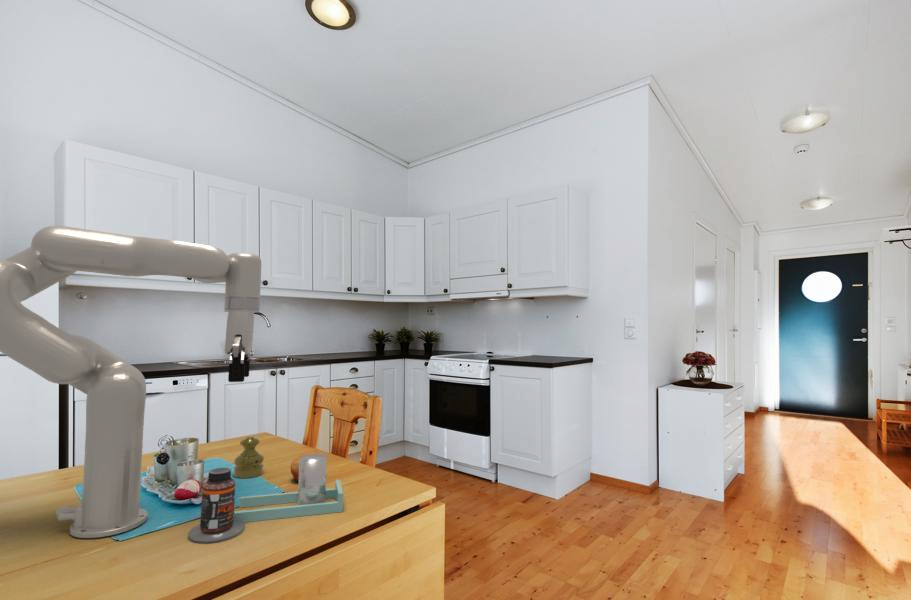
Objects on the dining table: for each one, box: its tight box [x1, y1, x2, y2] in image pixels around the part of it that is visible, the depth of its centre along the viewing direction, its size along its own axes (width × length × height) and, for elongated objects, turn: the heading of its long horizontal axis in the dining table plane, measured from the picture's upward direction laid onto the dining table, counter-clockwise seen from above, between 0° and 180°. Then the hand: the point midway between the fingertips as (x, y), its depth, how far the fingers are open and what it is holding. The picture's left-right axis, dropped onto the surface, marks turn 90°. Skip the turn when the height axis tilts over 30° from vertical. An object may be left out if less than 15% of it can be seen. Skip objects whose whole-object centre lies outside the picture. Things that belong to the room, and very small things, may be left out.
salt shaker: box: [233, 436, 265, 479], centre depth 126 cm, size 7×8×10 cm
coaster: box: [187, 520, 246, 544], centre depth 91 cm, size 10×10×1 cm
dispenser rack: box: [234, 479, 344, 523], centre depth 103 cm, size 22×10×4 cm, turn 108°
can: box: [297, 453, 328, 505], centre depth 105 cm, size 6×6×11 cm
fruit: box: [290, 452, 317, 482], centre depth 123 cm, size 8×8×8 cm
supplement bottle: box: [199, 467, 236, 533], centre depth 92 cm, size 6×6×11 cm
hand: (239, 379), depth 107 cm, fingers open, 9 cm apart
